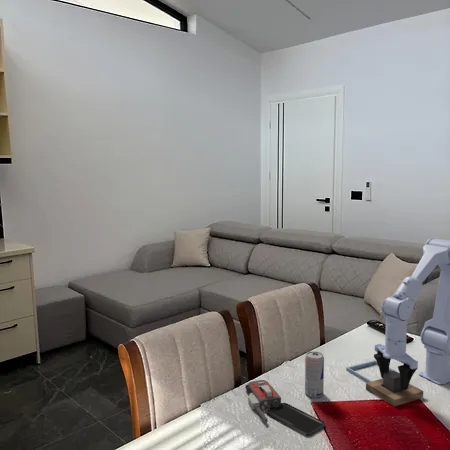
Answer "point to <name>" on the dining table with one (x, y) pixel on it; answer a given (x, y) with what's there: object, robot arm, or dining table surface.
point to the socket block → (394, 398)
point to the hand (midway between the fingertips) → (394, 382)
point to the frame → (351, 368)
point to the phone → (296, 419)
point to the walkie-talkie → (262, 396)
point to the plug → (392, 381)
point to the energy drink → (314, 374)
